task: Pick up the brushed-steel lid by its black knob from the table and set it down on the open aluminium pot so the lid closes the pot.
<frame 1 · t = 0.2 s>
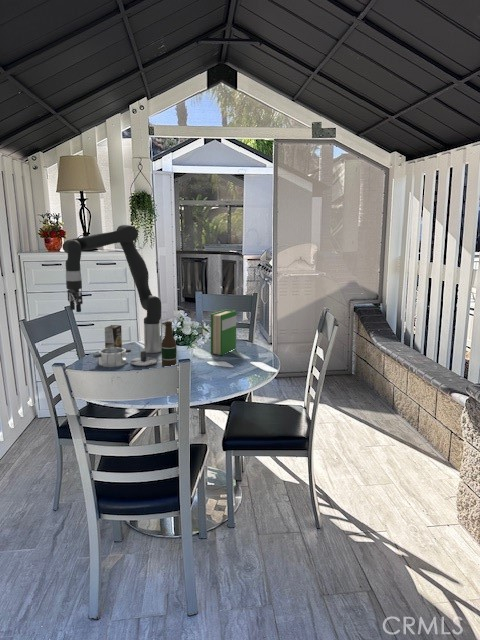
hand: (75, 310, 238), 29 cm above the table, tool pointing down, fingers open, 8 cm apart
beer bottle: (169, 366, 243), on the table
hardback book: (223, 352, 273), on the table
lid: (143, 363, 248), on the table
pot: (112, 363, 247), on the table
coffee box: (114, 354, 266), on the table
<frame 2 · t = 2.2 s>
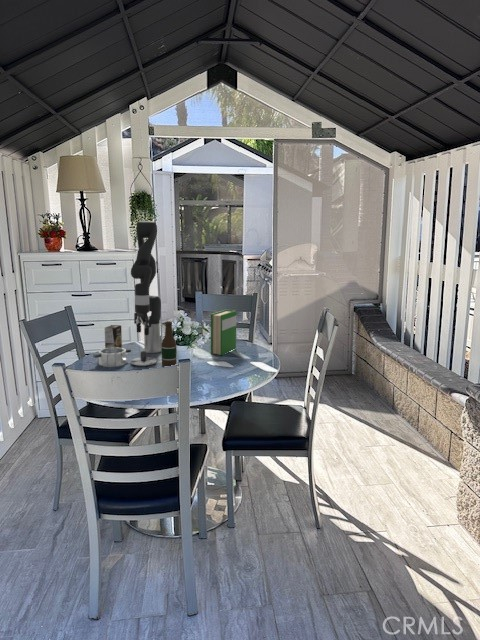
hand: (142, 333, 244), 16 cm above the table, tool pointing down, fingers open, 8 cm apart
nothing on the table moved.
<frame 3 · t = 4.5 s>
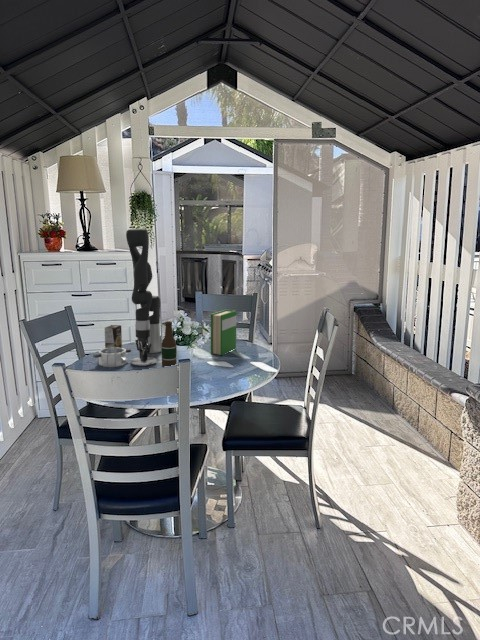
hand: (143, 359, 247), 2 cm above the table, tool pointing down, fingers closed on lid, 3 cm apart
lid: (143, 363, 247), on the table, touching gripper
everything else where it was.
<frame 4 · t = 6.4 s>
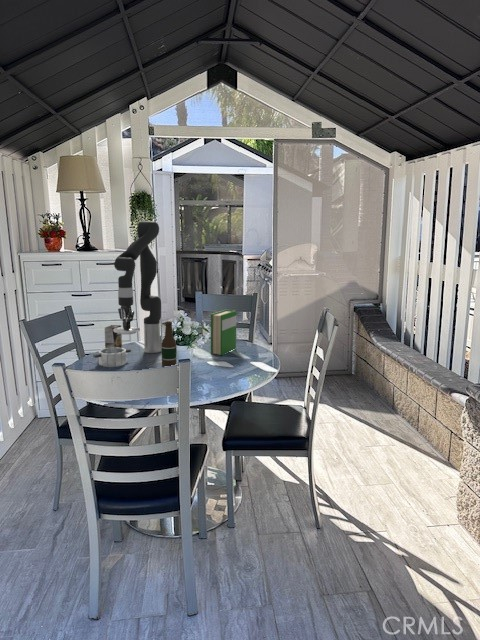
hand: (126, 328, 243), 19 cm above the table, tool pointing down, fingers closed on lid, 3 cm apart
lid: (126, 332, 243), point 17 cm above the table, touching gripper
everything else where it was.
when the fingers open (9 cm above the table, at t = 8.4 s): lid stays where it is, resting on pot.
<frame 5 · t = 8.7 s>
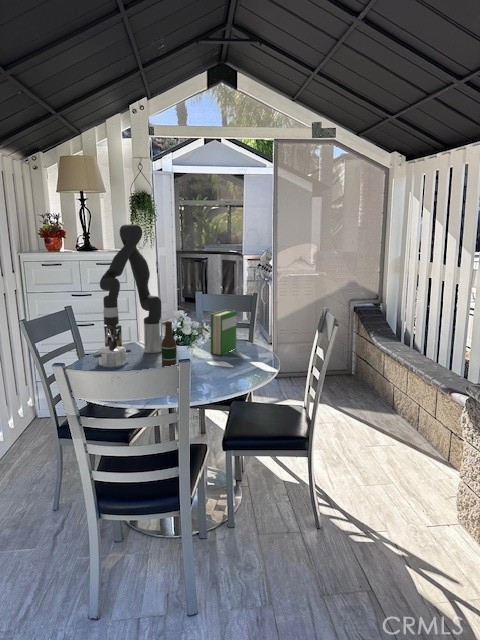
hand: (112, 346, 245), 9 cm above the table, tool pointing down, fingers open, 5 cm apart
lid: (112, 352, 246), point 6 cm above the table, touching pot
everything else where it was.
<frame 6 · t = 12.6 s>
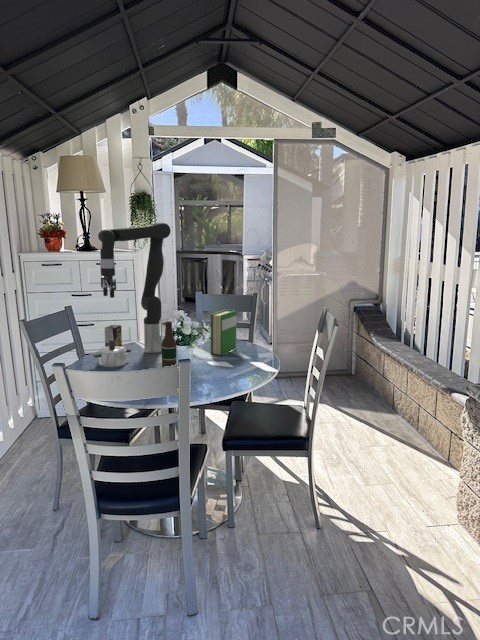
hand: (108, 296, 253), 34 cm above the table, tool pointing down, fingers open, 8 cm apart
nothing on the table moved.
at the end: lid 0.1 cm off-centre on the pot, point 6.0 cm above the pot's base; lid tilted 0°; the gripper is holding nothing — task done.
